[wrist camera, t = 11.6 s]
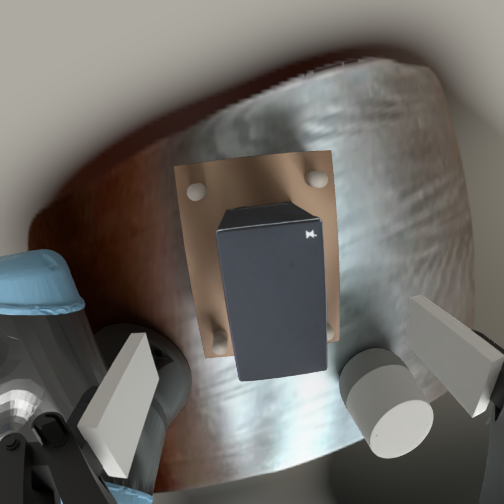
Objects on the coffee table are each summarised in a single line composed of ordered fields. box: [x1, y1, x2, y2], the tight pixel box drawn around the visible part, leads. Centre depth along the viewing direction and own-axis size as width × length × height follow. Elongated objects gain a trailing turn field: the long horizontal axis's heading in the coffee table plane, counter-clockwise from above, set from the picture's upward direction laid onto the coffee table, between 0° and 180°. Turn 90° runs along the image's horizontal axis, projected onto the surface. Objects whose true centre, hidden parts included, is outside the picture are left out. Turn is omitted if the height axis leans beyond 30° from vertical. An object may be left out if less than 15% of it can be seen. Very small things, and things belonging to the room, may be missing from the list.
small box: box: [216, 201, 327, 381], centre depth 23 cm, size 11×6×10 cm, turn 7°
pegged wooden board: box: [174, 150, 340, 358], centre depth 30 cm, size 14×19×8 cm
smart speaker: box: [339, 348, 433, 458], centre depth 32 cm, size 10×9×14 cm
